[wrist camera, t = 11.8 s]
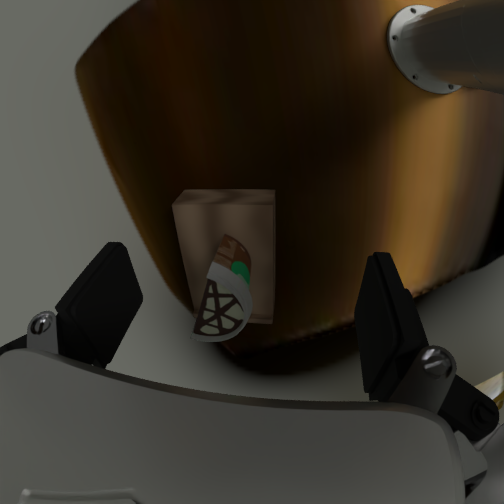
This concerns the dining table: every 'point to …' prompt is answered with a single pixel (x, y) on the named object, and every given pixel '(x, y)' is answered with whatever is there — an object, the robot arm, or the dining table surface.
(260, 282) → the brown rectangular block
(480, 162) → the dining table surface
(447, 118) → the dining table surface
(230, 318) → the food container
